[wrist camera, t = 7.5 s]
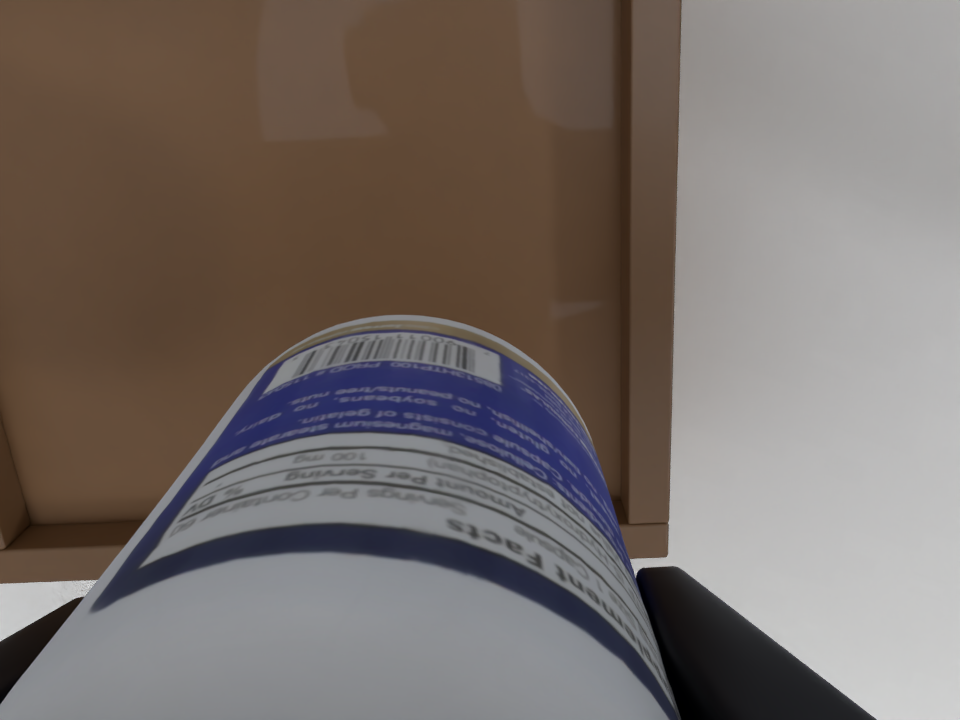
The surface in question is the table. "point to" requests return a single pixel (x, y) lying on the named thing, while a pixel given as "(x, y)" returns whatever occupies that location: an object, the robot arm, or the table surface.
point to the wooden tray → (318, 226)
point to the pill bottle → (371, 555)
